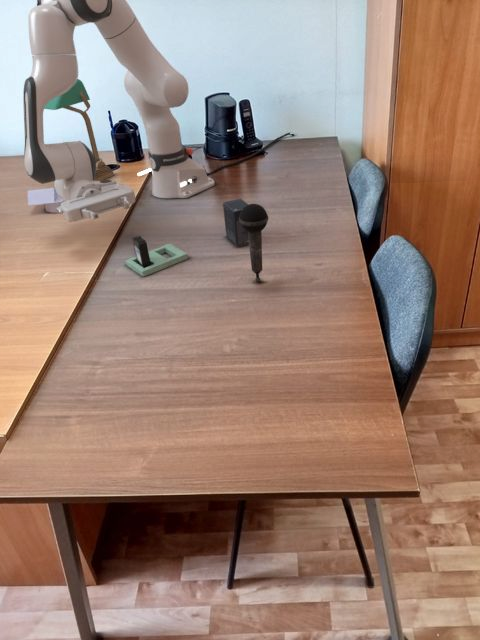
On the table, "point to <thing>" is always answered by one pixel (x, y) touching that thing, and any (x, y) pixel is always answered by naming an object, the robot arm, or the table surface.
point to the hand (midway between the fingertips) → (111, 211)
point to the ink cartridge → (141, 251)
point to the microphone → (254, 233)
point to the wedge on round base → (45, 198)
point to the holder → (158, 259)
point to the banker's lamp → (77, 96)
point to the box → (235, 222)
